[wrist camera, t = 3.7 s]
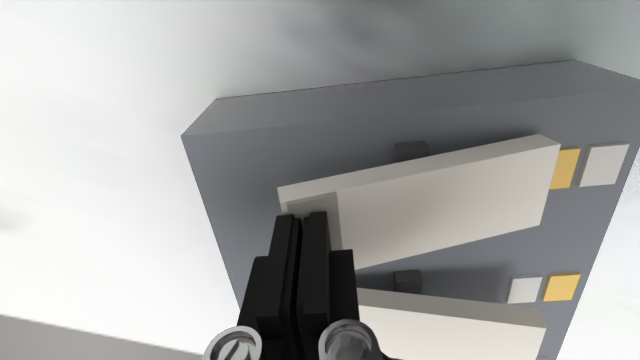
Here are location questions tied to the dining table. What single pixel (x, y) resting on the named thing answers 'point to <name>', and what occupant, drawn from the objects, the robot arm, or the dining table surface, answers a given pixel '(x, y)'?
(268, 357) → the robot arm
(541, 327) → the rocker
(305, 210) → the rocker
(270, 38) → the dining table surface
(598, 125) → the console
